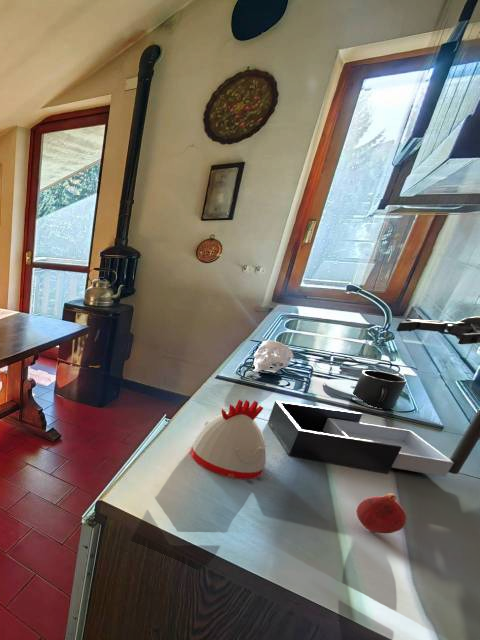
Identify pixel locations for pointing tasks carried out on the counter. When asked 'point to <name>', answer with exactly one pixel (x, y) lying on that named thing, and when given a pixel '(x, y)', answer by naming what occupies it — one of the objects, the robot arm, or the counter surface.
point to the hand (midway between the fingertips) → (428, 332)
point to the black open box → (327, 438)
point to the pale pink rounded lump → (272, 356)
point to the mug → (379, 388)
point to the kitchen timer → (232, 443)
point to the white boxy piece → (411, 445)
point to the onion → (381, 514)
